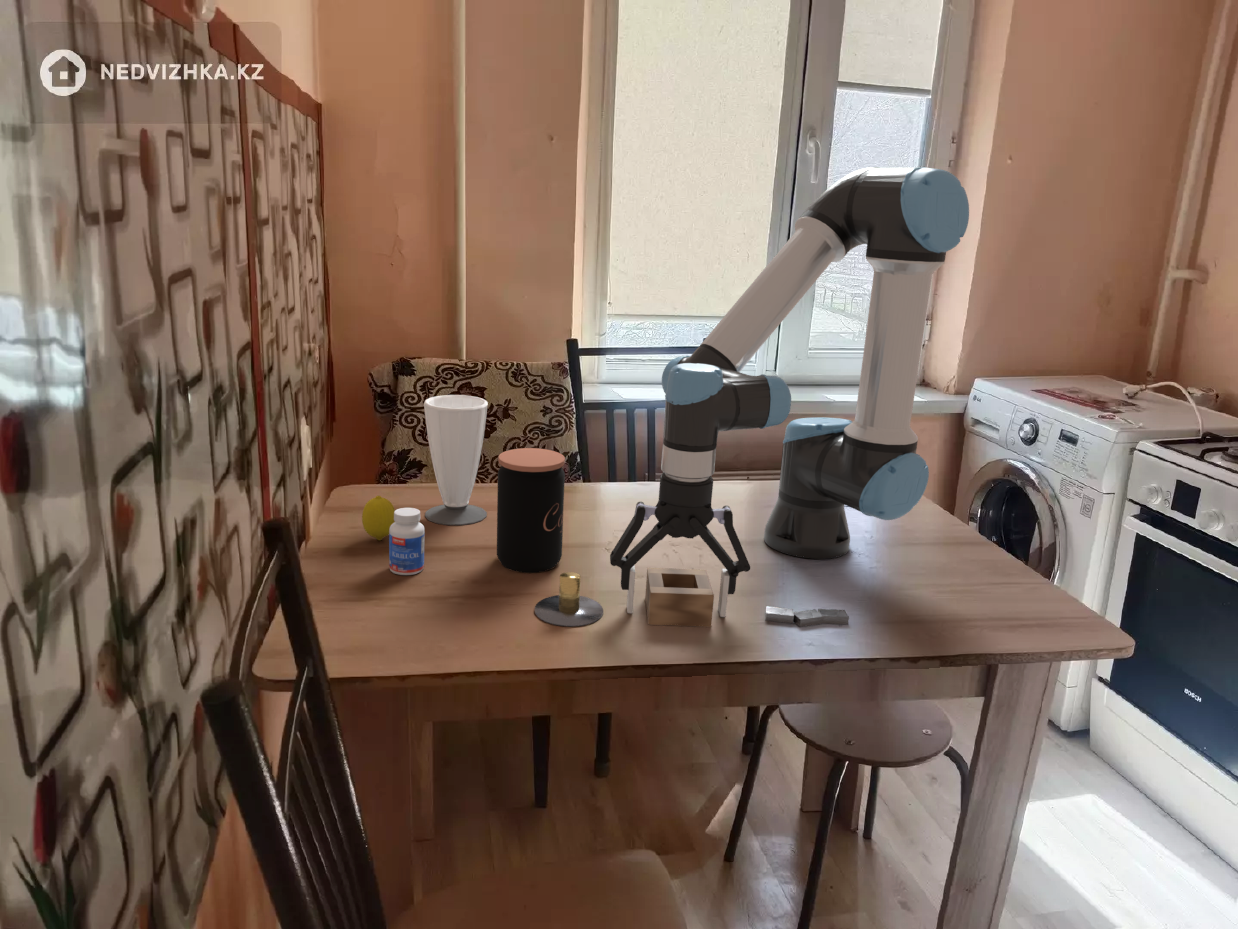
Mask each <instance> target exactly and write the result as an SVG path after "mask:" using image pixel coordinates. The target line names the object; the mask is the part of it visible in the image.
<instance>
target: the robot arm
mask: <svg viewBox="0 0 1238 929" xmlns="http://www.w3.org/2000/svg"><path fill="white" fill-rule="evenodd" d="M969 219H970V204H969V199H968V194H967V192H966V190H965V188H964V186H962V184H961V181H960V180H959V178H958V177H957V176H955V174H953V173H951V172H950V171H948V170H945V169H941V168H932V167H927V166H921V167H920V166H919V167H918V166H917V167H877V166H873V167H870V166H869V167H865V168H861V169H857V170H854V171H853V172H850V173H849V174H847V175H845V176H844V177H842V178H840V179H839V180H837V181H836V182H834V183H833V184H832V185H831V186H829V187H828V188H827V189H826V190H825V191H823V192H822V193H821V194H820V195H819V196H817V198H816V199H815V200H814V201H813V202H812V203H811V204H809V206H808V207H807V208H806V209H805V210H804V212H803V213H802V214H801V215H800V217H798V219H797V220H796V221H795V223H794V230H795V231H794V233H793V234H792V235H791V237H789V239H788V240H787V241H786V243H785V244H784V245H783V246H782V247H781V248H780V249H779V251H778V252H777V254H776V255H774V257H773V258H772V259H771V261H769V263H767V265H766V266H765V268H764V269H763V270H761V272H760V273H759V274H758V276H757V277H756V278H755V279H754V281H753V282H752V283H751V284H750V285H749V286H748V288H747V289H746V290H745V291H744V292H743V293H742V295H741V296H740V297H739V298H738V299H737V301H736V302H735V303H734V304H733V305H732V307H731V308H730V309H729V310H728V311H727V312H726V314H725V315H724V316H723V317H722V319H720V321H718V323H717V324H716V326H715V327H714V328H713V329H712V330H711V332H710V333H709V334H708V335H707V336H706V338H705V339H704V340H702V342H701V344H700V345H699V346H698V347H697V348H696V349H695V350H694V351H693V353H691V355H681V356H680V355H679V356H678V357H677V356H676V357H675V358H672V359H671V360H670V361H669V362H668V363H667V364H666V366H665V367H664V368H663V371H662V375H661V386H662V391H663V392H664V394H665V395H664V398H665V402H664V403H665V408H664V421H663V422H664V424H663V426H664V427H663V438H662V439H663V440H662V451H661V452H662V453H661V462H660V463H661V466H660V469H661V471H662V473H661V474H660V476H659V477H660V478H659V492H658V499H657V500H658V501H657V503H656V505H650V504H649V505H648V504H645V503H644V502H643V501H638V502H637V503H636V504H635V511H634V515H633V517H632V519H631V520H630V522H629V524H627V526H626V528H625V530H624V531H623V533H622V535H621V536H620V538H619V540H618V541H617V543H616V545H615V546H614V548H613V549H612V551H611V552H610V554H609V563H610V566H612V567H618V568H620V569H621V572H620V573H621V574H620V588H621V590H623V591H627V595H626V612H627V614H633V613H634V612H633V611H634V598H635V586H636V585H635V584H636V583H635V582H636V568H635V567H636V566H635V565H636V564H637V563H638V562H639V561H640V560H641V559H642V558H644V556H645V555H646V554H647V553H648V552H650V551H651V550H652V549H653V547H655V546H656V544H658V542H660V541H663V539H664V538H666V537H667V536H669V537H671V538H676V539H678V538H683V537H684V538H686V539H694V538H696V537H698V536H699V537H700V539H702V541H703V542H704V543H705V544H706V546H708V548H709V549H710V551H711V552H712V553H713V554H714V556H716V558H717V559H718V560H719V562H720V563H721V564H722V565H723V566H724V568H721V574H720V585H719V592H718V593H719V594H718V605H717V610H718V614H719V617H720V618H726V616H727V605H728V597H729V596H728V595H734V594H735V593H736V587H737V586H736V585H737V578H738V576H739V574H740V573H742V572H749V571H750V570H751V566H750V565H751V564H750V562H749V560H748V558H747V556H746V552H745V551H744V549H743V547H742V544H741V541H740V540H739V537H738V534H737V532H736V530H735V527H734V524H733V523H734V522H733V521H734V516H733V511H732V508H731V507H730V506H729V505H723V506H722V508H712V499H713V498H712V497H713V489H714V488H713V487H714V479H713V477H712V475H714V474H715V467H716V466H715V464H716V454H717V447H718V437H719V432H728V431H739V430H753V429H763V430H764V429H765V428H769V427H775V426H779V425H781V424H782V423H783V422H785V420H786V419H787V418H788V416H789V415H790V412H791V407H792V405H791V404H792V395H791V390H790V387H789V386H788V384H787V382H786V380H784V379H783V378H781V377H780V376H777V375H766V374H760V375H751V374H746V373H743V372H742V370H743V369H744V368H745V366H746V365H747V364H748V363H749V362H750V360H751V359H752V358H753V357H754V356H755V355H756V353H757V352H758V351H759V350H760V349H761V347H762V346H763V345H764V344H765V343H766V341H767V340H768V339H769V338H770V337H771V335H773V333H774V332H775V331H776V330H777V328H779V326H780V325H781V323H782V322H783V321H784V320H785V319H786V317H787V316H788V315H789V314H790V312H791V311H792V310H794V308H795V306H796V305H797V304H798V303H799V302H800V300H801V299H802V298H803V297H804V296H805V294H807V293H808V291H809V290H810V288H812V286H813V285H814V284H815V283H816V281H817V280H818V279H819V278H820V277H821V276H822V274H823V273H824V272H825V270H827V268H828V267H829V265H831V263H837V262H838V263H839V262H841V261H842V260H843V259H844V257H846V256H847V254H848V253H849V252H850V251H851V250H852V249H855V248H856V247H859V246H861V245H866V251H865V259H866V261H867V262H868V263H869V265H870V266H871V267H872V270H873V275H872V276H873V277H872V284H871V285H872V286H871V293H870V301H869V307H868V316H867V324H866V331H865V337H864V338H865V339H864V346H863V354H862V355H863V356H862V361H861V370H860V378H859V385H858V392H857V401H856V410H855V418H854V420H853V421H852V420H851V419H845V418H839V417H823V416H821V417H804V418H803V417H802V418H801V417H800V418H796V419H793V420H791V421H789V422H788V424H787V425H786V428H785V432H784V433H785V434H784V439H783V440H782V452H781V453H782V454H781V463H780V464H781V465H780V475H779V485H778V496H777V500H776V503H775V505H774V507H773V509H772V511H771V514H770V516H769V517H768V520H767V522H766V524H765V528H764V535H763V540H764V542H765V544H766V545H767V546H769V547H770V548H771V549H773V550H775V551H777V552H780V553H782V554H786V555H789V556H793V557H797V558H802V559H803V558H805V559H814V560H815V559H816V560H819V559H820V560H824V559H825V560H826V559H834V558H838V557H842V556H844V555H846V554H847V553H848V552H849V550H850V543H851V535H850V529H849V523H848V519H847V516H846V510H845V506H847V507H849V508H851V509H853V510H856V511H858V512H860V513H862V515H865V516H868V517H874V518H877V519H880V520H883V521H892V520H893V521H894V520H896V519H899V518H901V517H903V516H905V515H907V514H908V513H910V512H911V511H912V509H913V508H914V507H915V506H917V504H918V503H919V501H920V500H921V499H922V497H923V495H924V493H925V491H926V489H927V486H928V482H929V476H930V470H929V465H928V464H927V462H926V460H925V459H924V458H923V457H922V456H921V455H920V454H918V453H917V449H918V441H919V436H918V435H917V434H916V432H915V431H914V430H913V429H912V427H911V421H912V413H913V408H914V407H913V406H914V400H915V396H916V395H915V393H916V388H917V380H918V373H919V366H920V359H921V354H922V345H923V338H924V333H925V326H926V318H927V311H928V304H929V298H930V290H931V284H932V278H933V274H934V273H935V272H936V271H937V270H938V269H939V268H941V267H942V266H943V265H945V262H946V256H947V255H946V254H947V252H948V251H950V250H952V249H955V247H957V246H958V245H959V243H960V242H961V238H963V237H964V235H965V234H966V232H967V229H968V224H969ZM652 516H655V518H656V519H657V521H658V522H657V523H656V524H655V525H654V526H653V527H652V529H651V530H650V531H649V532H648V533H647V534H646V535H645V536H644V537H643V538H642V539H641V540H640V541H639V542H638V543H637V544H636V545H634V547H633V548H632V549H630V551H628V552H627V550H628V549H629V548H630V546H631V544H632V542H633V541H634V539H635V538H636V536H637V535H638V533H639V531H640V530H641V527H642V526H643V523H644V521H648V520H649V519H650V518H651V517H652ZM714 518H715V519H717V522H718V524H720V525H723V526H724V529H725V532H726V534H727V536H728V539H729V541H730V544H731V545H732V548H733V550H734V553H735V556H736V558H737V560H735V561H733V559H732V557H731V556H730V555H729V554H728V552H727V551H726V550H725V549H724V548H723V545H721V544H720V542H719V541H718V540H717V538H716V537H715V536H714V534H712V531H711V530H710V528H708V525H709V524H710V522H712V520H713V519H714ZM626 552H627V553H626Z"/></svg>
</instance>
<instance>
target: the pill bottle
mask: <svg viewBox="0 0 1238 929" xmlns="http://www.w3.org/2000/svg"><path fill="white" fill-rule="evenodd" d="M394 510H395V509H394ZM394 521H395V523H393V524H392V525H391V526H390V529H389V535H388V539H389V540H388V542H389V543H388V544H389V546H388V549H389V550H388V551H389V555H388V556H389V559H388V561H389V562H388V566H389V567H388V568H389V571H390V572H392V573H393V574H396V575H399V576H412V575H413V576H414V575H416V574H419V573H421V572H422V571H423V570H424V568H425V534H426V533H425V526H424V525H423V524H422V523H421V522H420V521H421V510H419V509H418V508H414V507H400V508H396V510H395V511H394Z"/></svg>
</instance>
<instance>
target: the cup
mask: <svg viewBox="0 0 1238 929" xmlns="http://www.w3.org/2000/svg"><path fill="white" fill-rule="evenodd" d="M488 403H489V402H488V401H487V400H486V399H484V398H481V397H478V396H471V395H465V394H447V395H438V396H437V395H436V396H431V397H428V398H427V399H425V400H424V402H423V407H424V408H423V409H424V417H425V418H424V419H425V424H426V434H427V439H428V445H429V446H428V447H429V451H430V452H429V453H430V456H431V462H432V468H433V471H434V475H435V479H436V483H437V484H436V485H437V487H438V491H439V494H440V497H441V500H442V504H440V505H436V506H433V507H431V508H429V509H427V510H426V511H425V512H424V517H425V518H426V520H428V521H429V522H431V523H434V524H437V525H443V526H467V525H468V526H469V525H473V524H477V523H479V522H481V521H483V520H484V519H486V518H487V515H488V511H486V510H485V509H484V508H482V507H481V506H478V505H473V504H469V502H470V499H471V496H472V493H473V489H474V487H475V483H476V478H477V474H478V469H479V465H480V459H481V454H482V449H483V443H484V437H485V429H486V421H487V413H488V412H487V411H488V405H489V404H488Z"/></svg>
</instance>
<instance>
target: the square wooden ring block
mask: <svg viewBox="0 0 1238 929" xmlns="http://www.w3.org/2000/svg"><path fill="white" fill-rule="evenodd" d="M646 568H647V569H646V579H645V580H646V582H645V583H646V584H645V596H644V599H645V606H646V607H645V608H646V613H647V614H646V615H647V621H648V625H650V626H681V627H705V628H707V627H708V628H711V627H712V621H713V620H712V619H713V610H714V599H715V593H714V589H713V586H712V582H711V581H710V580H711V579H710V577H709V573H708V570H707V569H694V568H669V567H646Z"/></svg>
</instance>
